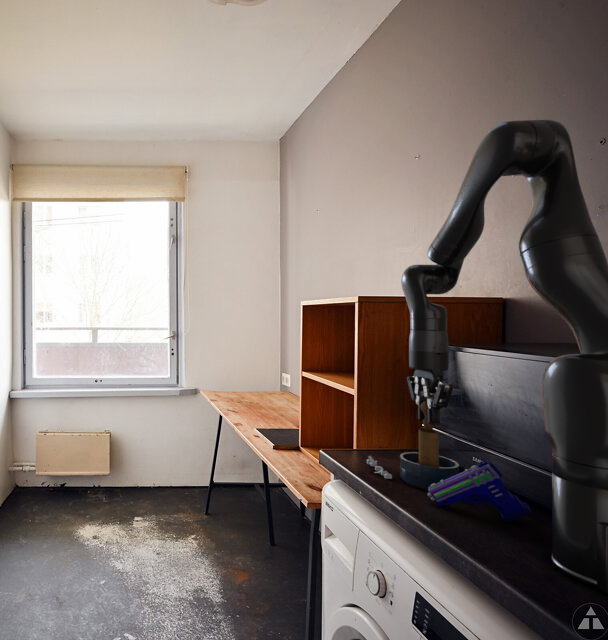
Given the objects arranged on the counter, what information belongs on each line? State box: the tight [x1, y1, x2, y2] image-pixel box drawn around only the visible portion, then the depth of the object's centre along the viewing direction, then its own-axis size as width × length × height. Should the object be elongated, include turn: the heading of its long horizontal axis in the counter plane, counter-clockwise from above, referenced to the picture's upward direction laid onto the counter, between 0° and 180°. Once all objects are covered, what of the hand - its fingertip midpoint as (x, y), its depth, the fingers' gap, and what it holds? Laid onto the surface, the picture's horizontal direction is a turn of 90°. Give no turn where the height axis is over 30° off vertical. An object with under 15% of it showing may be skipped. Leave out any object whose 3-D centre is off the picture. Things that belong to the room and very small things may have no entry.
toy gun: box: [427, 459, 532, 523], centre depth 82 cm, size 4×13×10 cm
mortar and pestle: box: [417, 401, 441, 467], centre depth 97 cm, size 7×6×18 cm
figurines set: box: [366, 454, 393, 480], centre depth 105 cm, size 12×3×3 cm, turn 170°
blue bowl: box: [399, 451, 460, 491], centre depth 97 cm, size 11×11×6 cm
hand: (428, 422), depth 97 cm, fingers closed on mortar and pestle, 3 cm apart
